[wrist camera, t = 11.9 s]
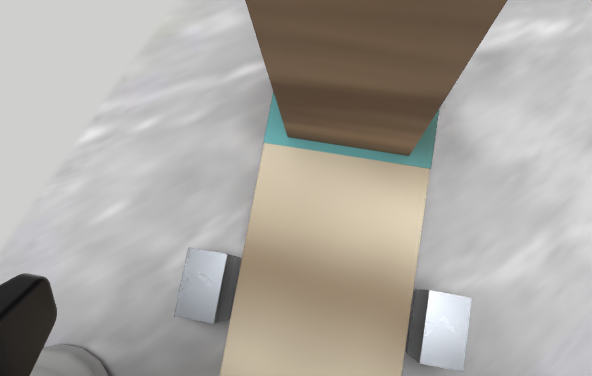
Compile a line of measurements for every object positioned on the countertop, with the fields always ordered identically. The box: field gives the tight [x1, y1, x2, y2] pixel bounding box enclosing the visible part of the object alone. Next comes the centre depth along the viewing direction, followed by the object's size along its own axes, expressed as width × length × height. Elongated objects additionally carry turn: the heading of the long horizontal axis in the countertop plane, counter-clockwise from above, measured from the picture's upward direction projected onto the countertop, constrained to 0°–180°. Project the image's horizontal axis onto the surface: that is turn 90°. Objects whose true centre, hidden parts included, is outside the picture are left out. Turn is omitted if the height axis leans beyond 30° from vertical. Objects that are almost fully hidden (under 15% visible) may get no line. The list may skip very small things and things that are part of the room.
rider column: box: [245, 0, 507, 156], centre depth 13 cm, size 4×4×12 cm
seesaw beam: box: [220, 92, 439, 376], centre depth 18 cm, size 22×6×4 cm, turn 170°
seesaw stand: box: [174, 247, 472, 372], centre depth 20 cm, size 12×10×3 cm
